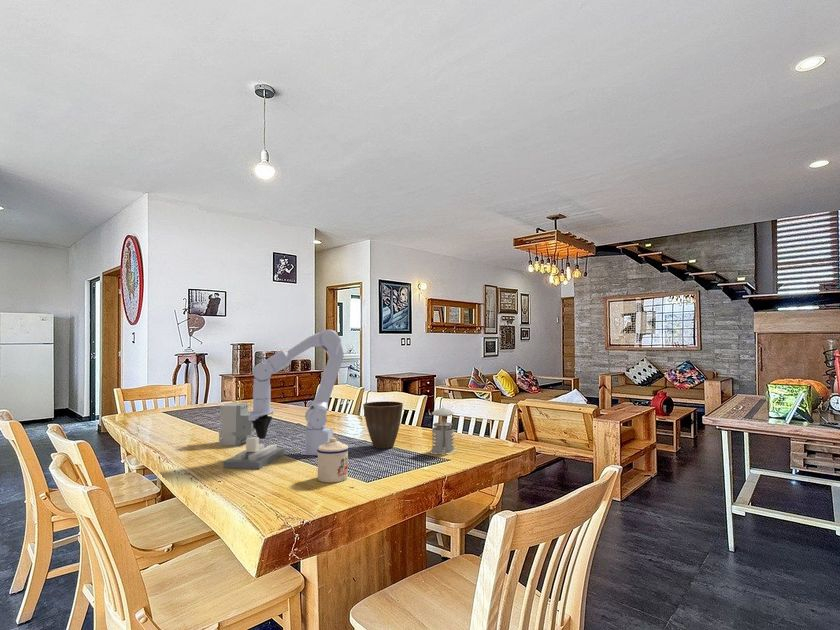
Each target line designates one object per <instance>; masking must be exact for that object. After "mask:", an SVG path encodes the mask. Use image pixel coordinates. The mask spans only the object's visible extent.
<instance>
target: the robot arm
mask: <svg viewBox="0 0 840 630" xmlns="http://www.w3.org/2000/svg"><path fill="white" fill-rule="evenodd" d="M315 347H318V348H319V347H321V348H323V350H324V351H325V352H326V354H327V356H328V359H327V362H326V365H325V368H324V371H323V374H322V377H321V380H320V383H319V385H318V386H319V387H318V388H317V391H316V394H315V398H314V399H313V401H312V403H311V406H310V407H309V408H308V409H307V410H306V412H305V416H304V418H305V421H306V422H307V424H306V426H305V428H304V429H305V431H304V432H305V433H304V435H305V436H304V439H305V440H304V441H305V442H304V445H305V447H304V451H303V452H301V453H300V455H301V456H318V451H317V448H318V447H319V446H320V445H323V444H325V443H326V442H328V441H329V439H330V438H333V437H334V431H333V429H332V428H330V427H327V425H326V424H327V420H328V418H327V412H328V408H329V407H328V405H329V400H330V398H331V395H332V393H333V389H334V387H335V384H336V381H337V378H338V375H339V371H340V368H341V366H342V363H343V360H344V350H343V347H342V339H341V337H340V336H339V334H338V333H337V332H336V331H335V330H333V329H323V330H321V331H319V332H317V333H314V334H312V335H310V336H308V337H307V338H304V339H303V340H302V341H300V342H298V343H297V344H295V345H294V346H293V347H291V348H290V349H288V350H287V351H286V350H276V351H275V352H274V354H272V355H271V356H269V357H268V358H266V359H265V358H264V359H262V363H261V362H260V363H257V364H256V365H255V366H254V368H253V370H252V376H253V386H252V410H251V411H249V412H250V414H249V415H248V420H249V421H252V423H253V424H254V427H255V429H256V433H255V434H256V436H257V437H259V440H264V439H266V436H267V433H268V428H269V426H270V423H271V421H272V420H273V416H270V415H274V414H275V408H274V407H271V406H272V404H271V402H272V401H271V399H272V398H271V397H272V396H271V392H272V388H271V387H272V385H271V377H272V374H277V373H278V372H280V371H282V370H283V369H285V368H286V367H287V366H289V365H291V363H292V359H293V358H295V357H297V356H299V355H301V354H302V353H304V352H306V351H308V350H309V349H311V348H315Z"/></svg>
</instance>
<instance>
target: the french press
mask: <svg viewBox="0 0 840 630" xmlns="http://www.w3.org/2000/svg"><path fill="white" fill-rule="evenodd" d="M445 385H446V382H445V381H441V382H440V386H445ZM431 415H432V416H435V417H436V416H438V417H449V416H450V417H451V416H452V415H455V412H454V411H453V410H451V409H448V408H444V407H442V408H437V409H436V410H434V411H432V412H431ZM440 420H441V422H434V423H433V426H434V427H432V429H431V432H432V433H431V435H432V436H431V438H432V439H431V440H432V441H431V442H432V445H431V446H432V447H431V449H430V450H431V452H432V453H436V454H435V455H437V454H446V453H452V452H455V451H457V450H456V449H455V428H454V426H453V425H454V424H453V423H452V422H448V420H447V418H446V419H445V421H443V418H441V419H440ZM432 453H431V454H432Z"/></svg>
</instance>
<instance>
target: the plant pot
mask: <svg viewBox="0 0 840 630" xmlns="http://www.w3.org/2000/svg"><path fill="white" fill-rule="evenodd" d="M403 406H404V403H403V402H400V401H387V400H386V401H371V402H366V403H363V406H362V407H363V413H364V419H365V423H366V428H367V432H368V435H369V437H370V440H371V443H372V444H371V445H373V448H374V447H376V448H375V449H378V448H387V449H391V448H390V447H392V448H393V447H394V446H395V442H396V440H397V437H398V434H399V429H400V426H401V425H400V423H401V420H402V414H403V413H402V412H403Z"/></svg>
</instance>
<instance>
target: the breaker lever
mask: <svg viewBox="0 0 840 630" xmlns="http://www.w3.org/2000/svg"><path fill="white" fill-rule="evenodd" d="M259 444H260V439H259V437H256V436H250V437H248V438H247V439H246V442H245V450H246V452H249V453H247V457H248V456H249V455H251V454H253V453H255V452H257V451H258V450H259Z"/></svg>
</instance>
